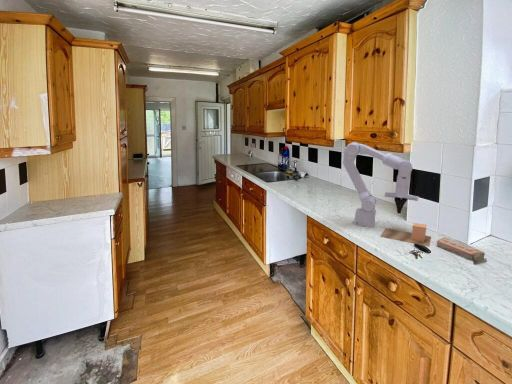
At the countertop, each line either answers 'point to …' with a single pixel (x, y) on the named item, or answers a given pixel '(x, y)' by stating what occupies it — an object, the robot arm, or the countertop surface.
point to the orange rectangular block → (418, 232)
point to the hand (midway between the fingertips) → (399, 212)
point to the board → (404, 237)
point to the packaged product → (462, 250)
